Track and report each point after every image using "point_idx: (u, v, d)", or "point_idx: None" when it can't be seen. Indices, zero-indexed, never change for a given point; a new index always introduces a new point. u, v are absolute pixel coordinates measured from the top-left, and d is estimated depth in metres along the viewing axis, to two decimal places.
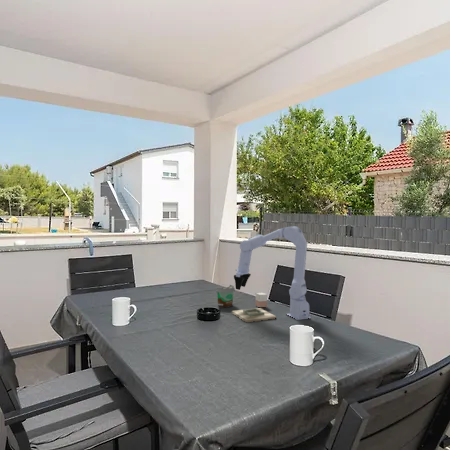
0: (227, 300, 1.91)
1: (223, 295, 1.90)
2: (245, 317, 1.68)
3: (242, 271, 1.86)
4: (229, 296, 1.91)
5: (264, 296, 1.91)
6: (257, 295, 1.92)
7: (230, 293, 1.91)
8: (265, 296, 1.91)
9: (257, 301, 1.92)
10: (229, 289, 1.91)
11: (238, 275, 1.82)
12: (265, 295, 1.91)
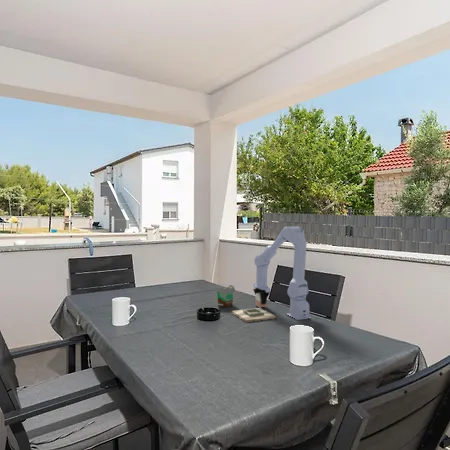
0: (227, 300, 1.91)
1: (223, 295, 1.90)
2: (245, 317, 1.68)
3: (265, 286, 1.90)
4: (229, 296, 1.91)
5: None
6: (257, 295, 1.92)
7: (230, 293, 1.91)
8: None
9: (257, 301, 1.92)
10: (229, 289, 1.91)
11: (268, 290, 1.86)
12: None
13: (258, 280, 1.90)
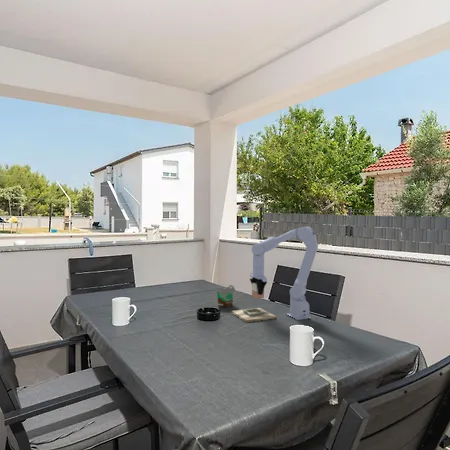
0: (227, 300, 1.91)
1: (223, 295, 1.90)
2: (245, 317, 1.68)
3: (262, 275, 1.81)
4: (229, 296, 1.91)
5: None
6: (254, 285, 1.83)
7: (230, 293, 1.91)
8: None
9: (254, 291, 1.83)
10: (229, 289, 1.91)
11: (265, 280, 1.77)
12: None
13: (254, 269, 1.81)
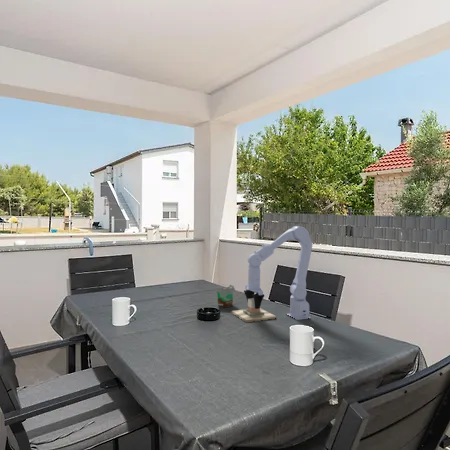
0: (227, 300, 1.91)
1: (223, 295, 1.90)
2: (245, 317, 1.68)
3: (257, 288, 1.72)
4: (229, 296, 1.91)
5: None
6: (249, 301, 1.74)
7: (230, 293, 1.91)
8: None
9: (249, 307, 1.74)
10: (229, 289, 1.91)
11: (261, 293, 1.68)
12: None
13: (250, 281, 1.72)
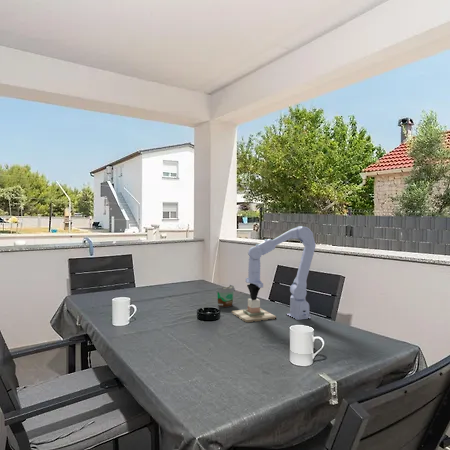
0: (227, 300, 1.91)
1: (223, 295, 1.90)
2: (245, 317, 1.68)
3: (258, 281, 1.72)
4: (229, 296, 1.91)
5: (256, 302, 1.73)
6: (249, 301, 1.74)
7: (230, 293, 1.91)
8: (258, 302, 1.73)
9: (249, 307, 1.74)
10: (229, 289, 1.91)
11: (262, 285, 1.68)
12: (258, 301, 1.73)
13: (250, 274, 1.72)
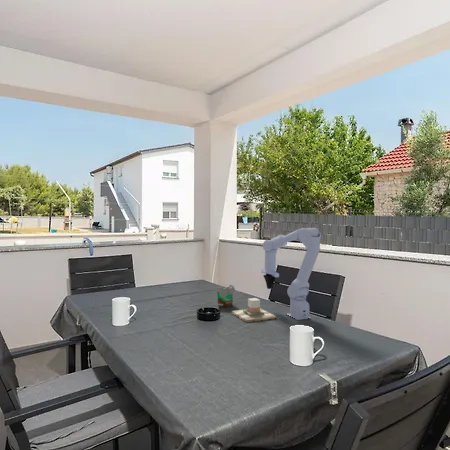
0: (227, 300, 1.91)
1: (223, 295, 1.90)
2: (245, 317, 1.68)
3: (273, 271, 1.87)
4: (229, 296, 1.91)
5: (256, 302, 1.73)
6: (249, 301, 1.74)
7: (230, 293, 1.91)
8: (258, 302, 1.73)
9: (249, 307, 1.74)
10: (229, 289, 1.91)
11: (277, 275, 1.83)
12: (258, 301, 1.73)
13: (267, 265, 1.87)
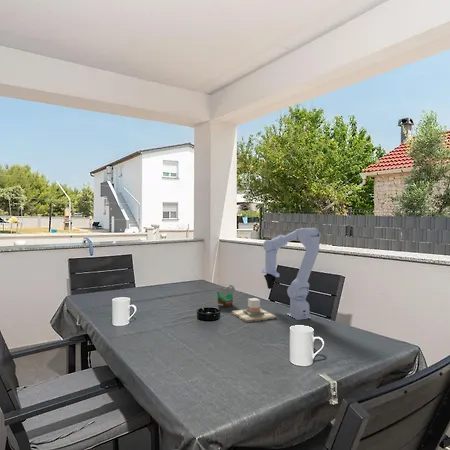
0: (227, 300, 1.91)
1: (223, 295, 1.90)
2: (245, 317, 1.68)
3: (274, 271, 1.87)
4: (229, 296, 1.91)
5: (256, 302, 1.73)
6: (249, 301, 1.74)
7: (230, 293, 1.91)
8: (258, 302, 1.73)
9: (249, 307, 1.74)
10: (229, 289, 1.91)
11: (278, 275, 1.83)
12: (258, 301, 1.73)
13: (267, 265, 1.87)
